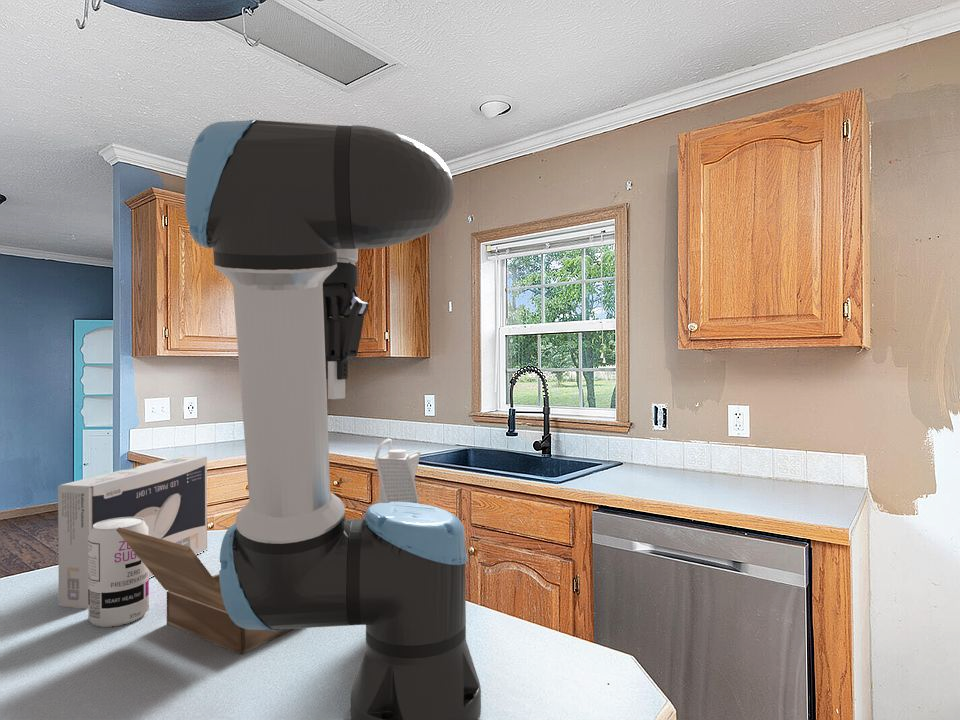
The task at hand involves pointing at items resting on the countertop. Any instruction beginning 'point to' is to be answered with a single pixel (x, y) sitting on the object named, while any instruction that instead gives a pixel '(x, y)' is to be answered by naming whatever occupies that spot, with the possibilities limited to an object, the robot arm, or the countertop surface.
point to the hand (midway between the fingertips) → (336, 398)
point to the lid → (175, 568)
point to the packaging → (130, 513)
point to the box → (214, 624)
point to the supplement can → (116, 574)
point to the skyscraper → (397, 475)
